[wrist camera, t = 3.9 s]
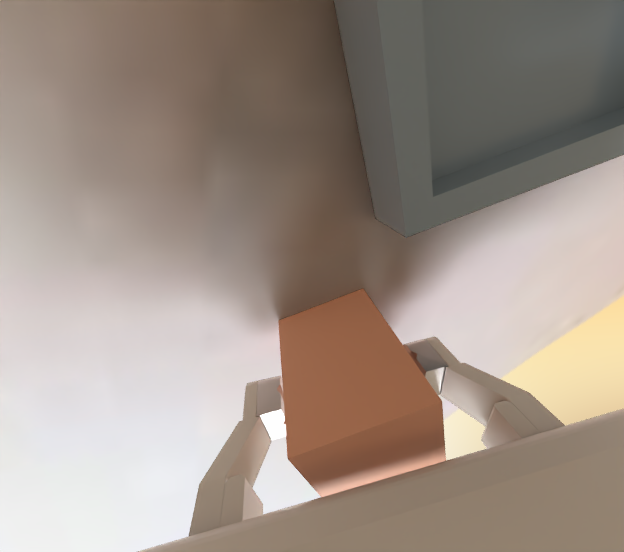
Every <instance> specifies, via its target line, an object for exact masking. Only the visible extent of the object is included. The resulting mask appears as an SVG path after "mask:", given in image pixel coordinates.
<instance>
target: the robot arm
mask: <svg viewBox="0 0 624 552" xmlns="http://www.w3.org/2000/svg"><path fill="white" fill-rule="evenodd" d="M403 346H404V348H405V349H406V351H407V352H408V353H409V355H410V356H411V358H412V359H413V361H414V362H415V363H416V365H417V366H418V368H419V369H420V371H421V372H422V373H423V375H424V376H425V378H426V379H427V381H428V382H429V383H430V385H431V386H432V388H433V389H434V391H435V392H436V393H437V395H440V394H441V396H442V397H444V398H445V399H447V400H448V401H449V402H451V403H452V404H454V405H455V406H457V407H458V408H460V409H461V410H463V411H464V412H465V413H467V414H468V415H470V416H471V417H473V418H474V419H476V420H477V421H478V422H480V423H481V424H483V425H484V426H486V427H485V430H484V432H483V435H482V442H483V443H484V445H485V446H486V447H487V449H485V450H481V451H477V452H474V453H471V454H467V455H464V456H460V457H457V458H454V459H451V460H447V461H443V462H440V463H437V464H433V465H430V466H426V467H423V468H420V469H416V470H413V471H409V472H406V473H403V474H399V475H396V476H392V477H389V478H386V479H382V480H379V481H375V482H372V483H369V484H365V485H362V486H358V487H355V488H352V489H348V490H345V491H341V492H338V493H335V494H331V495H328V496H325V497H321V498H318V499H314V500H311V501H308V502H304V503H301V504H297V505H294V506H291V507H287V508H284V509H280V510H277V511H274V512H270V513H267V514H263V504H262V502H261V501H260V499H259V498H258V496H257V495H256V493H255V492H254V490H253V489H252V487H253V485H254V482H255V480H256V478H257V475H258V473H259V470H260V468H261V466H262V463H263V461H264V458H265V456H266V453H267V451H268V449H269V446H270V444H271V440H273V439H277V438H280V437H283V436H286V426H285V411H284V396H283V381H282V378H281V376H277V377H272V378H268V379H263V380H259V381H254V382H250V383H247V385H246V390H245V400H244V411H243V421H239V423H238V424H237V426H236V427H235V429H234V430H233V432H232V434H231V435H230V437H229V438H228V440H227V442H226V443H225V445H224V446H223V448H222V449H221V451H220V453H219V454H218V456H217V457H216V459H215V461H214V462H213V464H212V465H211V467H210V468H209V470H208V472H207V473H206V475H205V476H204V478H203V479H202V481H201V483H200V484H199V489H198V493H197V498H196V503H195V508H194V513H193V518H192V522H191V527H190V532H189V537H185V538H182V539H179V540H175V541H172V542H168V543H165V544H162V545H158V546H155V547H151V548H148V549H145V550H141V551H138V552H624V409H621V410H617V411H614V412H610V413H607V414H603V415H600V416H596V417H593V418H590V419H586V420H583V421H580V422H576V423H573V424H569V425H566V426H565V425H564V424H563V423H562V422H560V420H558V419H557V418H556V417H555V416H554V415H553V414H552V413H551V412H550V411H549V410H548V409H547V408H545V407H544V406H543V405H542V404H541V403H540V402H539V401H538V400H536V398H535V397H533V396H532V395H531V394H530V393H529V392H527V391H524V390H522V389H520V388H518V387H516V386H514V385H511V384H509V383H507V382H505V381H503V380H501V379H498V378H496V377H494V376H492V375H490V374H487V373H485V372H483V371H481V370H479V369H477V368H474V367H472V366H470V365H468V364H466V363H460V362H459V361H458V360H457V359H456V358H455V357H454V355H453V354H452V353H451V352H450V351H449V350H448V349H447V348H446V347H445V346H444V345H443V344H442V343H441V342H440V340H439V339H438V338H436V337H431V338H427V339H422V340H418V341H414V342H410V343H407V344H404V345H403Z"/></svg>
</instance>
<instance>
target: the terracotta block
mask: <svg viewBox="0 0 624 552" xmlns="http://www.w3.org/2000/svg"><path fill="white" fill-rule="evenodd" d="M279 336H280V351H281V366H282V381H283V396H284V411H285V426H286V440H287V455H288V460H289V461H290V462H291V463H292V464H293V465H294V466H295V468H296V469H297V470H298V471H299V472H300V473H301V474H302V476H303V477H304V478H305V479H306V480H307V481H308V482H309V483H310V485H311V486H312V487H313V488H314V489H315V490H316V491H317V493H318V494H319V495H320V496H321V497H325V496H328V495H331V494H335V493H338V492H341V491H345V490H348V489H352V488H355V487H358V486H362V485H365V484H369V483H372V482H375V481H379V480H382V479H386V478H389V477H392V476H396V475H399V474H403V473H406V472H409V471H413V470H416V469H420V468H423V467H426V466H430V465H433V464H437V463H440V462H443V461H446V456H445V441H444V425H443V409H442V401H441V399H440V398H439V396H438V395H437V393H436V392H435V391H434V389H433V388H432V386H431V385H430V383H429V382H428V381H427V379H426V378H425V376H424V375H423V373H422V372H421V371H420V369H419V368H418V366H417V365H416V363H415V362H414V361H413V359H412V358H411V356H410V355H409V353H408V352H407V351H406V349H405V348H404V346H403V345H402V343H401V342H400V341H399V339H398V338H397V336H396V335H395V333H394V332H393V331H392V329H391V328H390V326H389V325H388V323H387V322H386V321H385V319H384V318H383V316H382V315H381V313H380V312H379V311H378V309H377V308H376V306H375V305H374V303H373V302H372V301H371V299H370V298H369V296H368V295H367V293H366V292H365V290H364V289H360V290H358V291H355V292H352V293H350V294H347V295H344V296H342V297H339V298H337V299H334V300H331V301H329V302H326V303H323V304H321V305H318V306H315V307H313V308H310V309H308V310H305V311H302V312H300V313H297V314H294V315H292V316H289V317H287V318H284V319H281V320H279Z"/></svg>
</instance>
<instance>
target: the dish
mask: <svg viewBox="0 0 624 552" xmlns="http://www.w3.org/2000/svg"><path fill="white" fill-rule="evenodd" d="M334 4H335V10H336V15H337V20H338V25H339V31H340V36H341V41H342V46H343V52H344V57H345V62H346V67H347V72H348V78H349V83H350V88H351V93H352V99H353V104H354V109H355V114H356V120H357V125H358V130H359V135H360V141H361V146H362V151H363V156H364V161H365V167H366V172H367V177H368V182H369V188H370V193H371V198H372V203H373V209H374V214H375V219H377V220H379V221H380V222H382V223H383V224H385V225H387V226H388V227H390V228H391V229H393V230H395V231H396V232H398V233H400V234H401V235H403V236H404V237H406V238H407V237H409V236H412V235H414V234H417V233H420V232H422V231H425V230H428V229H430V228H433V227H435V226H438V225H441V224H443V223H446V222H448V221H451V220H454V219H456V218H459V217H462V216H464V215H467V214H469V213H472V212H475V211H477V210H480V209H483V208H485V207H488V206H490V205H493V204H496V203H498V202H501V201H503V200H506V199H509V198H511V197H514V196H517V195H519V194H522V193H524V192H527V191H530V190H532V189H535V188H538V187H540V186H543V185H545V184H548V183H551V182H553V181H556V180H558V179H561V178H564V177H566V176H569V175H572V174H574V173H577V172H579V171H582V170H585V169H587V168H590V167H593V166H595V165H598V164H600V163H603V162H606V161H608V160H611V159H614V158H616V157H619V156H621V155H624V0H334Z"/></svg>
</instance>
